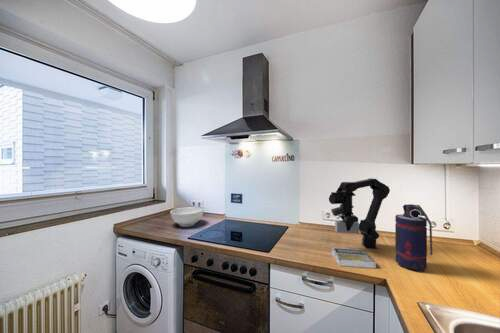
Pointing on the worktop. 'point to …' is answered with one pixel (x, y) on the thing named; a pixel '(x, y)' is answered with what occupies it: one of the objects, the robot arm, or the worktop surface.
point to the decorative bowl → (187, 215)
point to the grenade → (412, 238)
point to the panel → (341, 227)
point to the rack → (353, 257)
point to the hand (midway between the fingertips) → (346, 229)
